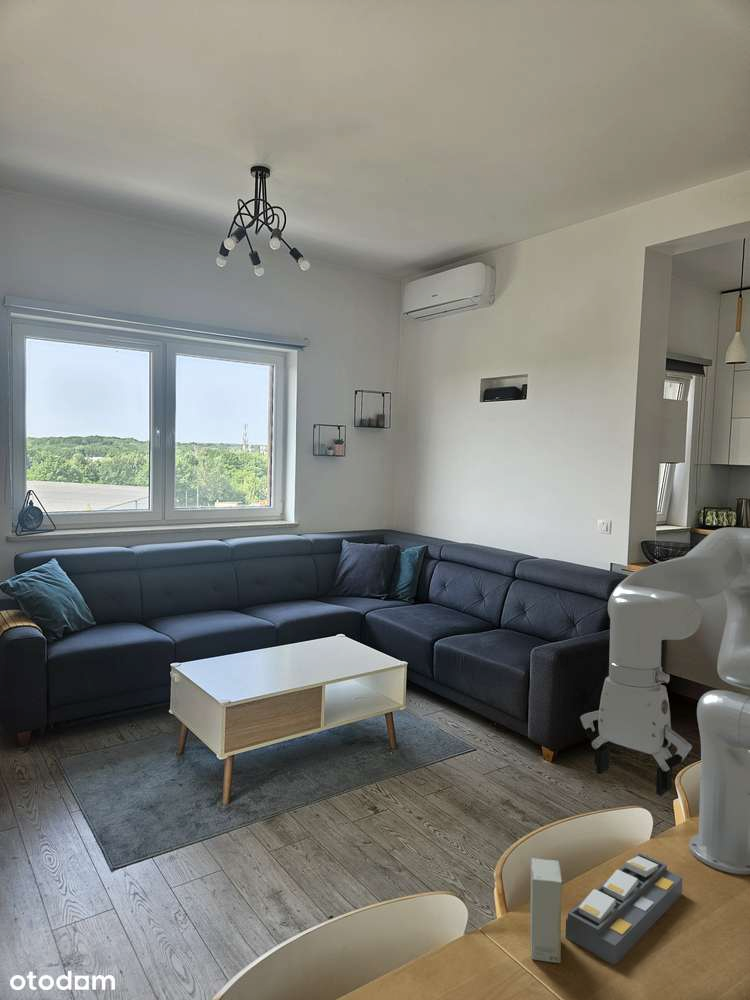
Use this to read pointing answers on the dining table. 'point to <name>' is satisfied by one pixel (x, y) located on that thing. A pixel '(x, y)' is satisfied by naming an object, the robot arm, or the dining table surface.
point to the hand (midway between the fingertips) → (631, 781)
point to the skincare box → (545, 910)
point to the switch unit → (626, 914)
